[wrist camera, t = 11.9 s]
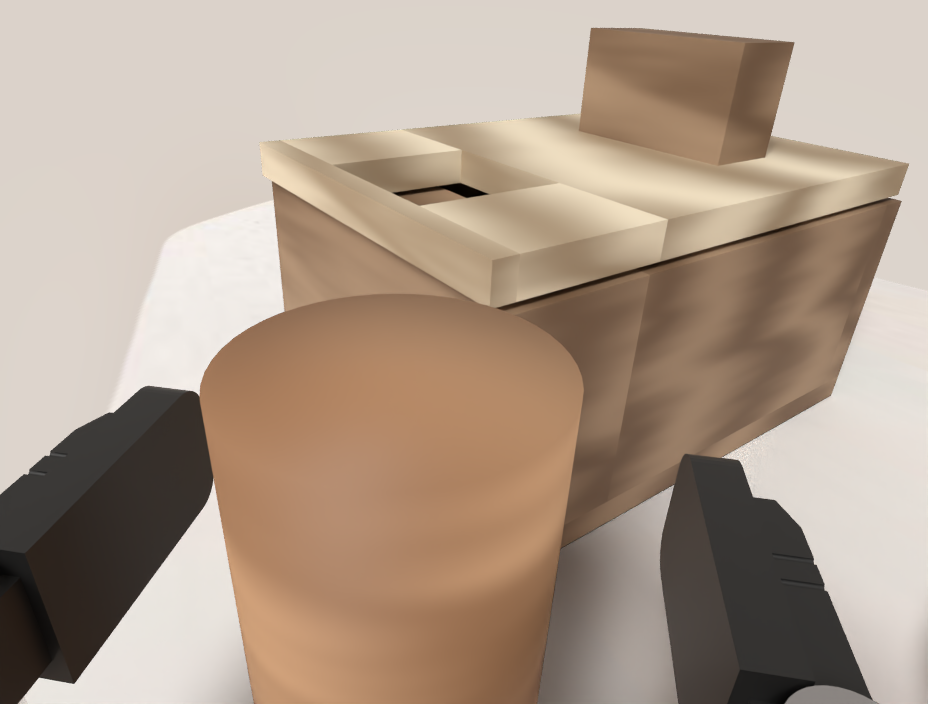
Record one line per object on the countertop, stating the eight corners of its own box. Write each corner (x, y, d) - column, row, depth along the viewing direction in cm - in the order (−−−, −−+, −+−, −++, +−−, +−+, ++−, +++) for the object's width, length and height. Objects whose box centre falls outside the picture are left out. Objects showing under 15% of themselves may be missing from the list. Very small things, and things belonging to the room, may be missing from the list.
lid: (632, 132, 36) (649, 24, 33) (898, 194, 26) (949, 49, 24) (262, 175, 25) (246, 18, 22) (488, 309, 15) (505, 62, 13)
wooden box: (604, 289, 40) (628, 135, 36) (831, 395, 30) (901, 201, 26) (291, 382, 29) (271, 178, 25) (485, 591, 20) (507, 316, 15)
